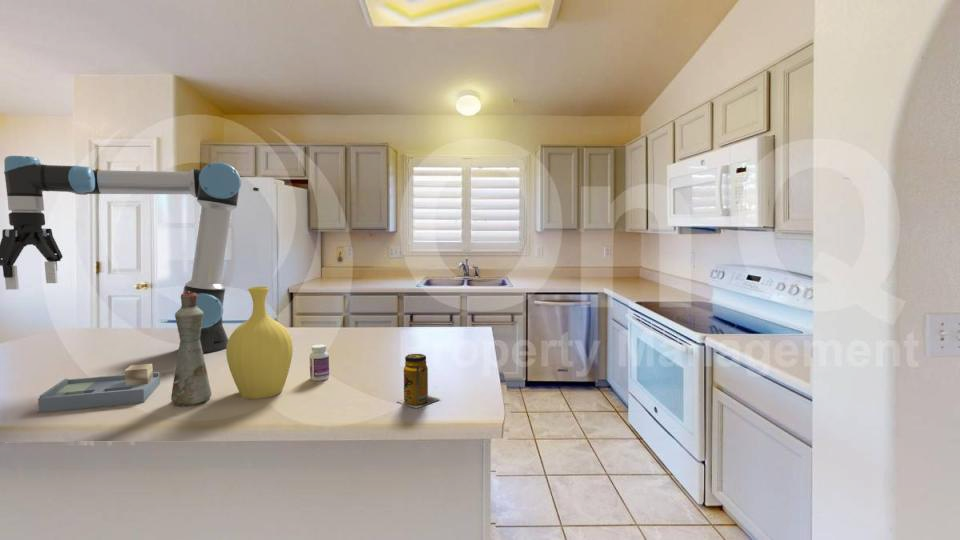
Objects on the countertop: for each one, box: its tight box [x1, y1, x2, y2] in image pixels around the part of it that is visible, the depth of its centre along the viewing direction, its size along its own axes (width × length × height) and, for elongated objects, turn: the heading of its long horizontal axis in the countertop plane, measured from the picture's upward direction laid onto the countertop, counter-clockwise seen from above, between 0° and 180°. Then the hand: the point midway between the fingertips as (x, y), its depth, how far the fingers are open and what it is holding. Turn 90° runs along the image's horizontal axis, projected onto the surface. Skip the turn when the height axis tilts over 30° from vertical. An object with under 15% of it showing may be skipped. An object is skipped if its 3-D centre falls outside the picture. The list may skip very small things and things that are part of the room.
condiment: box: [397, 353, 440, 409], centre depth 125 cm, size 7×8×12 cm
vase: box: [225, 286, 294, 400], centre depth 130 cm, size 16×16×28 cm
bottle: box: [170, 291, 212, 407], centre depth 122 cm, size 9×9×28 cm
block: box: [124, 363, 154, 386], centre depth 131 cm, size 5×5×4 cm
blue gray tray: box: [37, 371, 161, 414], centre depth 126 cm, size 21×15×4 cm
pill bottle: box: [309, 344, 330, 382], centre depth 143 cm, size 5×5×10 cm
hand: (33, 286), depth 142 cm, fingers open, 13 cm apart
